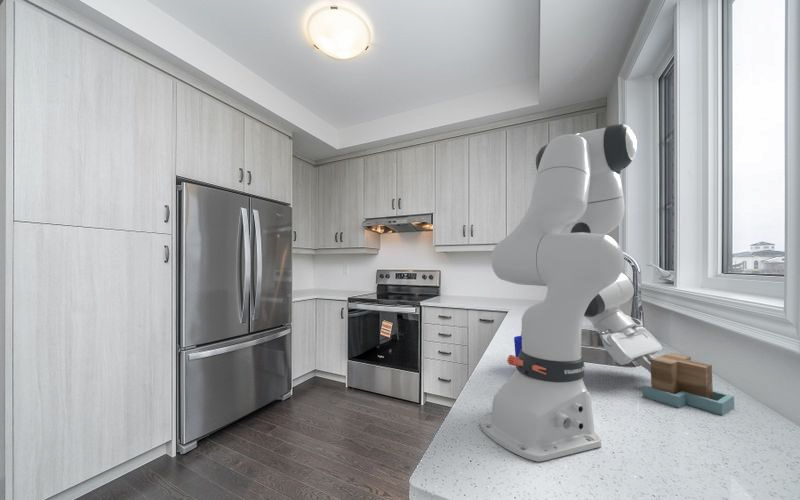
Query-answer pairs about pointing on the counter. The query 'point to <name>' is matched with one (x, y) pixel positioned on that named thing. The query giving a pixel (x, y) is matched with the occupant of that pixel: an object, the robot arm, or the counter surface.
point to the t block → (681, 375)
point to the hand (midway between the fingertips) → (658, 373)
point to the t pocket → (692, 400)
